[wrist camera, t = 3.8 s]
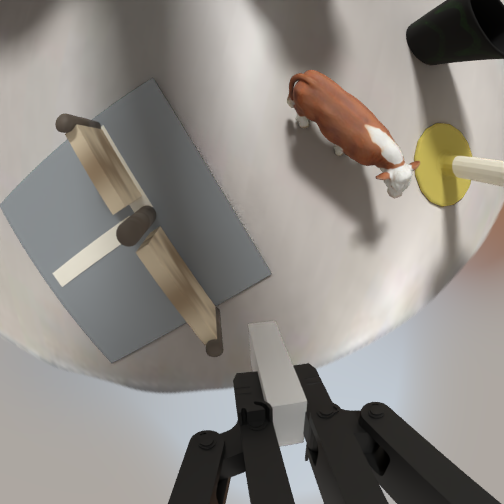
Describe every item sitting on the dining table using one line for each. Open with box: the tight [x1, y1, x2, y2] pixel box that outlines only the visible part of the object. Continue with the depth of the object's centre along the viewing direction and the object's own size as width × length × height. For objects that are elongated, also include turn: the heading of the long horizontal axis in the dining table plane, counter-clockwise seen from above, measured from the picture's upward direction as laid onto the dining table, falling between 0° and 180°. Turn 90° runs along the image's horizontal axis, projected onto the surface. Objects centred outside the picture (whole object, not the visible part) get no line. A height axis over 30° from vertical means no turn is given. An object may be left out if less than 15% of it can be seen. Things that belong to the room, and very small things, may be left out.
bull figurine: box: [287, 70, 420, 198], centre depth 24 cm, size 4×13×8 cm, turn 48°
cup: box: [406, 0, 504, 65], centre depth 20 cm, size 8×8×12 cm
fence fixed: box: [56, 114, 156, 247], centre depth 23 cm, size 11×2×7 cm, turn 30°
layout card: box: [0, 78, 272, 363], centre depth 28 cm, size 22×21×1 cm
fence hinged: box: [136, 226, 223, 357], centre depth 26 cm, size 11×1×7 cm, turn 30°
